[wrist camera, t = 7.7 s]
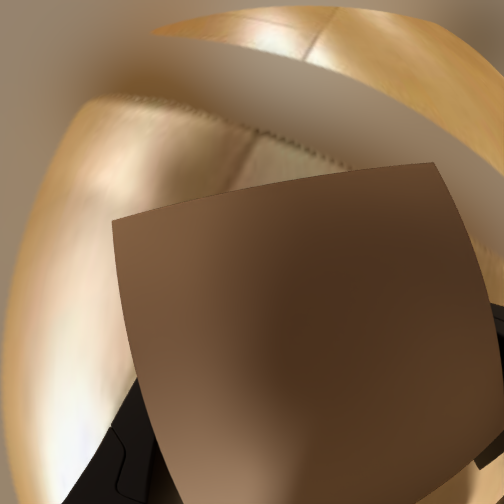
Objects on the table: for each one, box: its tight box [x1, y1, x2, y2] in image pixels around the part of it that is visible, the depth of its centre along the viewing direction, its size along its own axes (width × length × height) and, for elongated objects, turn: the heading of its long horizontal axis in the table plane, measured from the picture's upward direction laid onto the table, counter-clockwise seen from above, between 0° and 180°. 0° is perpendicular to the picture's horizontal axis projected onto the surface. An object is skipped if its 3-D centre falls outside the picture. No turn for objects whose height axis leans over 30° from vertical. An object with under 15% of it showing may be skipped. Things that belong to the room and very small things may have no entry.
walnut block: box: [112, 162, 504, 504], centre depth 9 cm, size 6×6×12 cm
